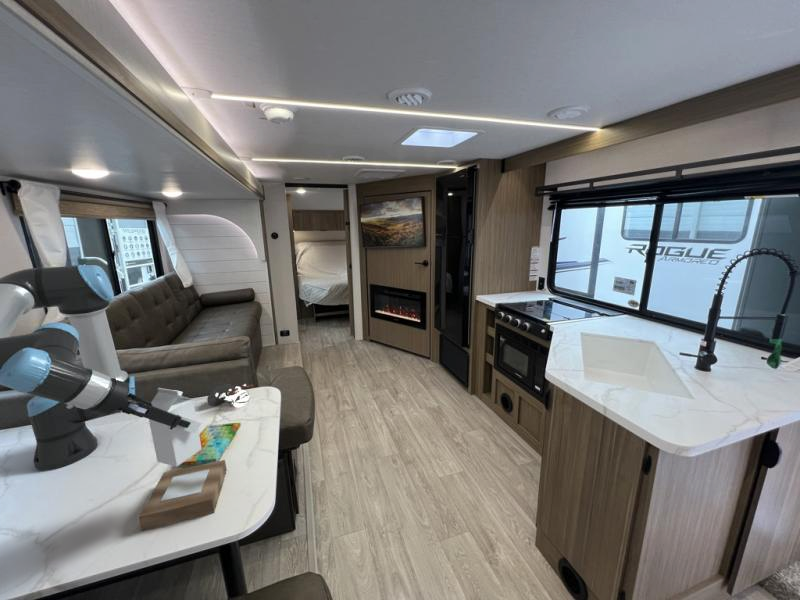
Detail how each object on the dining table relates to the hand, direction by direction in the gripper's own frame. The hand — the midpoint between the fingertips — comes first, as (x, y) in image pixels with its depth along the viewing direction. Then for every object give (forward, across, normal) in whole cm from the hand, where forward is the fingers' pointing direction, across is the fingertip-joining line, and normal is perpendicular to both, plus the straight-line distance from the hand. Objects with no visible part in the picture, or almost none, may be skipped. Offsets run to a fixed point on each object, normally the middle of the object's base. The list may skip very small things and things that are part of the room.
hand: (188, 423), depth 87 cm
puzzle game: (+24, -16, -7) cm, 29 cm away
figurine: (+39, -40, +9) cm, 56 cm away
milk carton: (+3, 0, -8) cm, 9 cm away
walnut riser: (+13, -1, -17) cm, 21 cm away
